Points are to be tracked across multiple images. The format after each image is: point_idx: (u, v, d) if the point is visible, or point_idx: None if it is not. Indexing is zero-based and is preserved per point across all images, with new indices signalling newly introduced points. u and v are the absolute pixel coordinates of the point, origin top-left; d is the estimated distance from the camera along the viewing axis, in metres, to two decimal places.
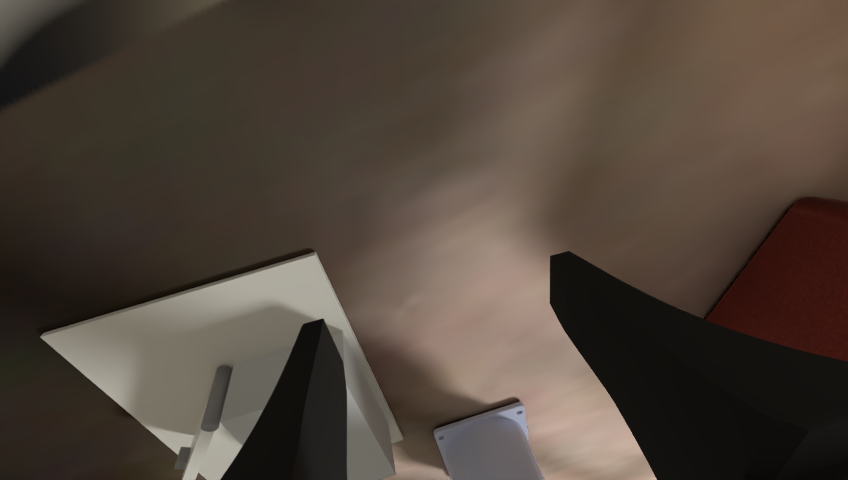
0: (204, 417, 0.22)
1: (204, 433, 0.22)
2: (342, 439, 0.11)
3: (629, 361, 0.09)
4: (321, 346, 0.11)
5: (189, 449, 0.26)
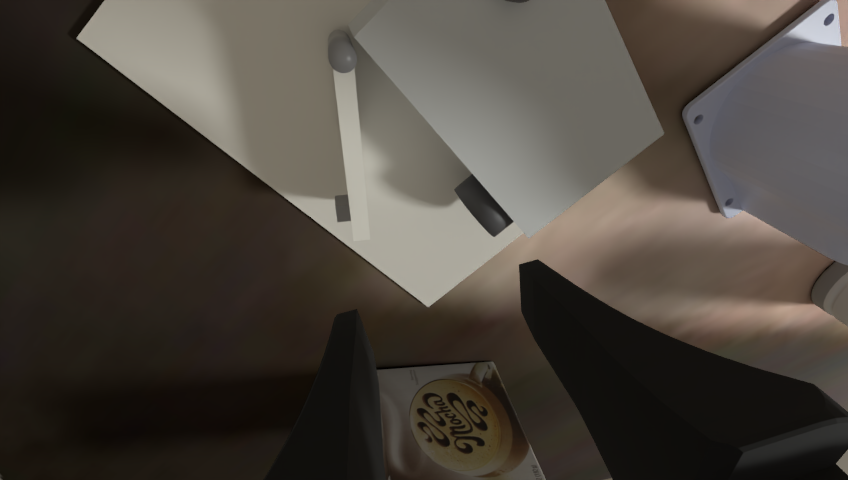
0: (329, 49, 0.13)
1: (342, 87, 0.13)
2: (378, 428, 0.11)
3: (589, 373, 0.09)
4: (358, 336, 0.11)
5: (346, 196, 0.18)
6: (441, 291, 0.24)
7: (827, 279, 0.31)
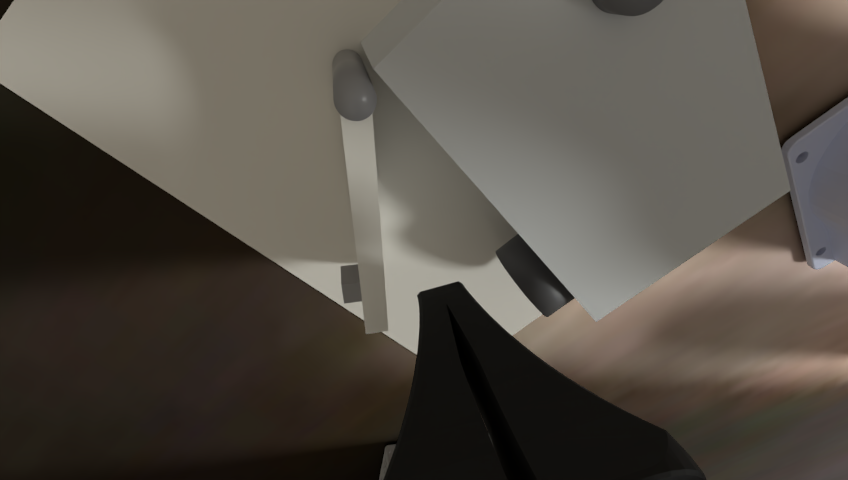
0: (334, 86, 0.09)
1: (354, 139, 0.09)
2: None
3: (488, 403, 0.09)
4: (448, 311, 0.11)
5: (356, 266, 0.13)
6: None
7: None
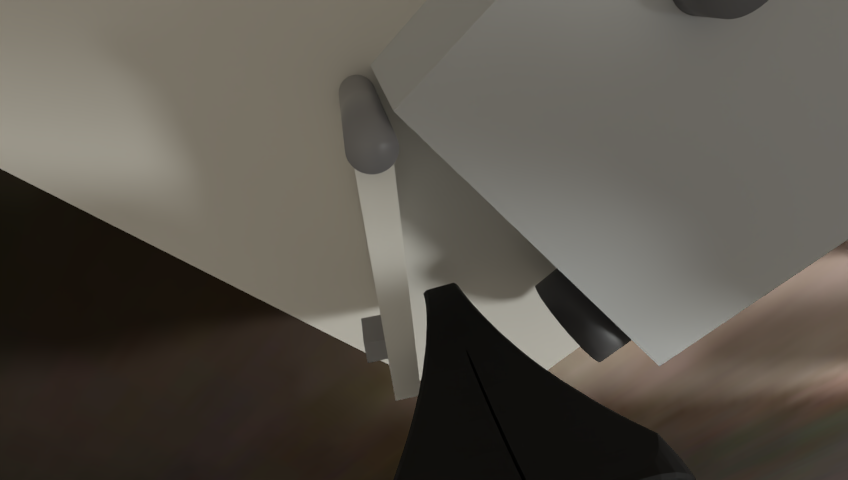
0: (345, 133, 0.07)
1: (373, 194, 0.07)
2: None
3: None
4: None
5: (379, 318, 0.12)
6: None
7: None
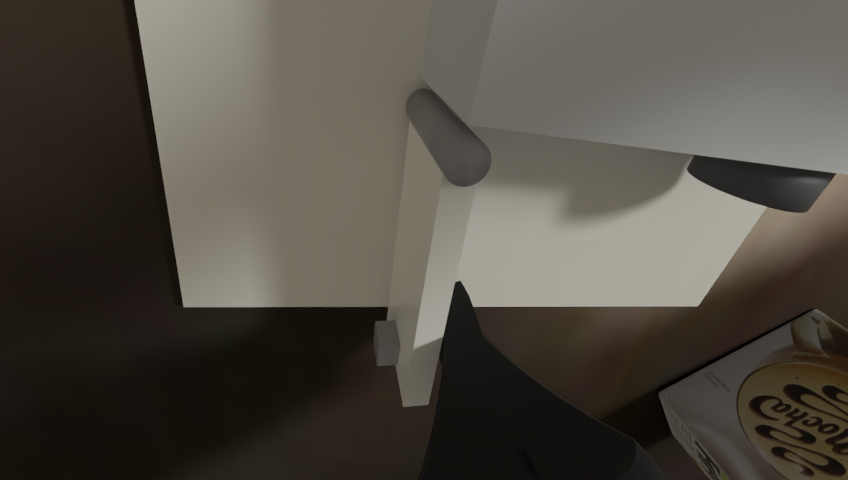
0: (442, 143, 0.07)
1: (450, 204, 0.08)
2: None
3: None
4: None
5: (393, 323, 0.12)
6: (709, 281, 0.17)
7: None
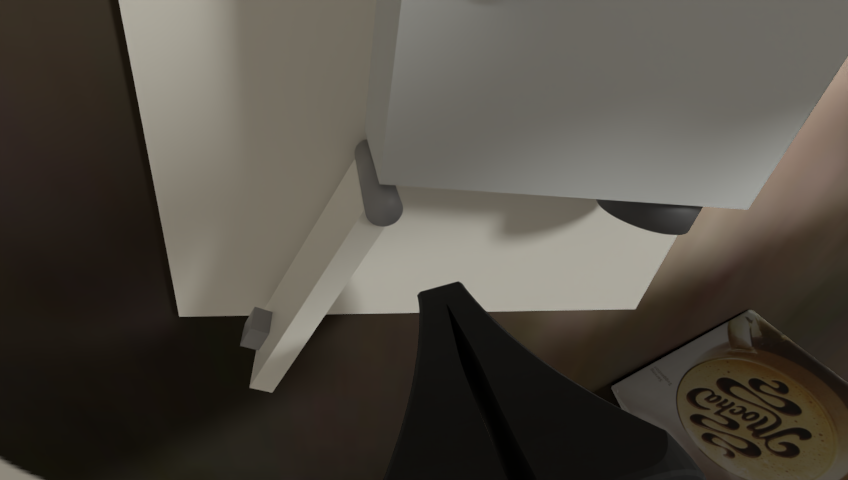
0: (372, 188, 0.10)
1: (360, 233, 0.10)
2: None
3: (488, 403, 0.09)
4: (448, 311, 0.11)
5: (270, 314, 0.13)
6: (642, 287, 0.19)
7: None
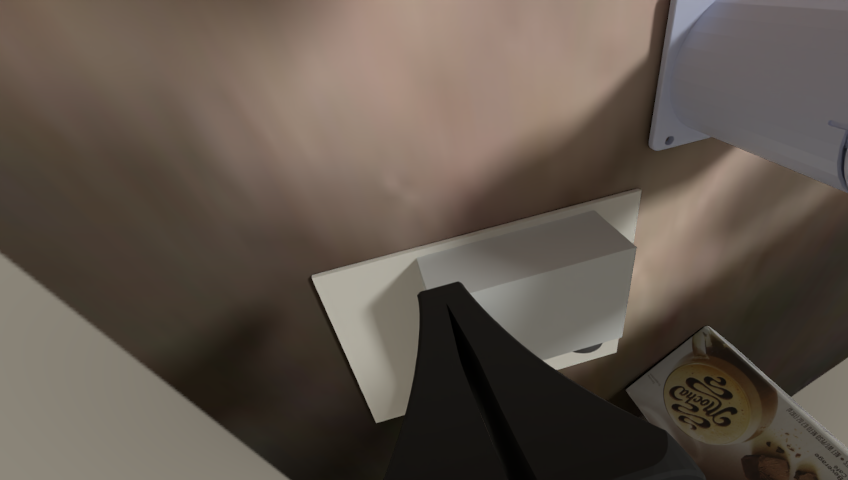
0: None
1: None
2: None
3: (487, 403, 0.09)
4: (448, 311, 0.11)
5: None
6: (614, 342, 0.32)
7: None
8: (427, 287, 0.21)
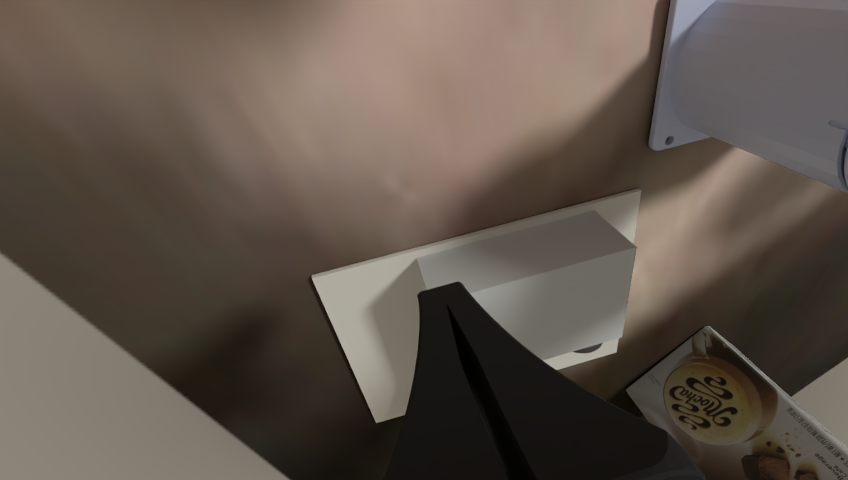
0: None
1: None
2: None
3: (487, 403, 0.09)
4: (448, 311, 0.11)
5: None
6: (614, 342, 0.32)
7: None
8: (427, 287, 0.21)
